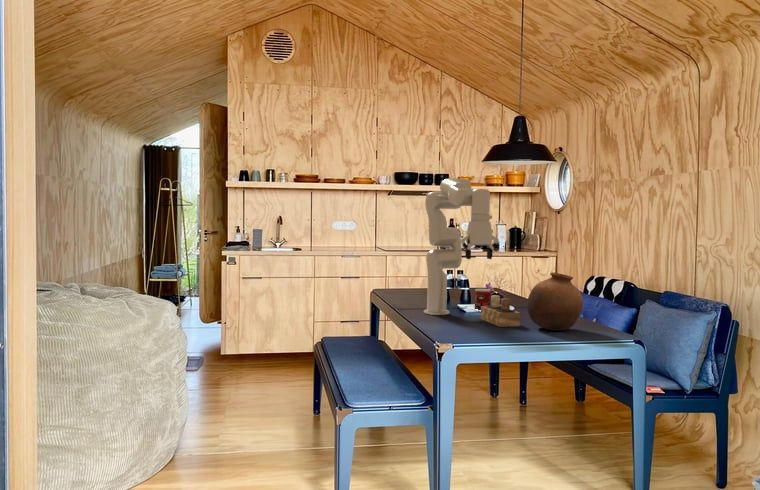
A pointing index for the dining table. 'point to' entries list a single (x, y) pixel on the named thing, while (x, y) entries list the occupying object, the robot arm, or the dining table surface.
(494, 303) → the maple peg
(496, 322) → the oak block
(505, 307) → the walnut peg
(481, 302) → the canned food
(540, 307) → the pottery
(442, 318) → the dining table surface
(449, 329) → the dining table surface
